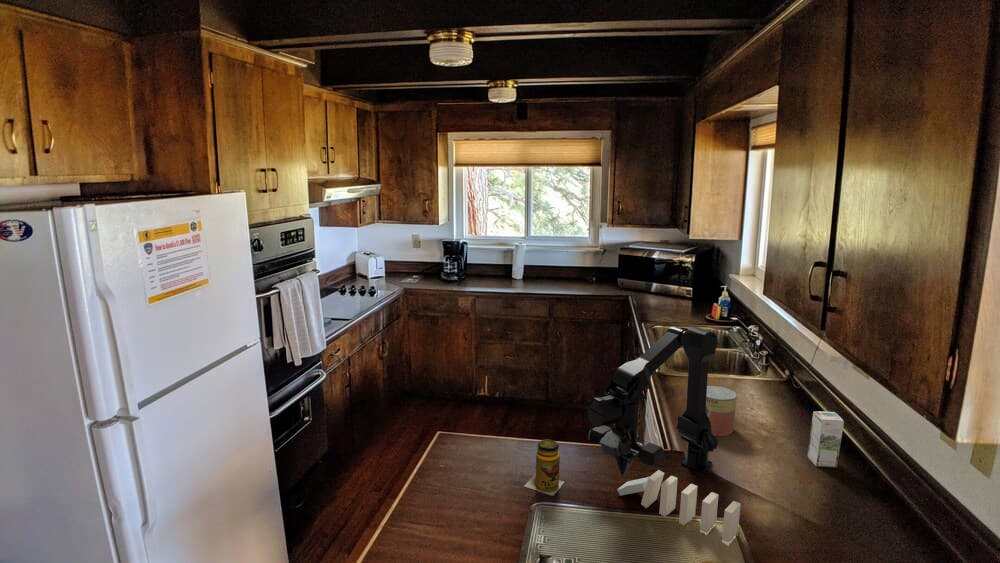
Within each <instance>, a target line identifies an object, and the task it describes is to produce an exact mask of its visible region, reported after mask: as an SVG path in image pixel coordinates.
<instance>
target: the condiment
mask: <svg viewBox="0 0 1000 563" xmlns="http://www.w3.org/2000/svg"><path fill="white" fill-rule="evenodd" d="M559 447H560V446H559V444H558V442H557V441H556V440H554V439H550V438H548V439H546V438H545V439H542V440H540V441H539V442H538V443H537V451H536V455H535V456H536V459H535V473H534V474H533V475H532V477H531V478H530V479H529V480H528V481H527V482H526V483H525V484H524V485H523V487H525V488H527V489H530V490H535V491H537V492H539V493H543V494H546V495H549V496H551V497H552V496H553V497H554V496H555V494H556V493H557V492H558V491H559V490H560V489H561V487H562V486H563V484H564V483H565V481H564V480H560V459H561V458H560V457H561V456H560V452H559Z"/></svg>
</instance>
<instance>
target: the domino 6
mask: <svg viewBox="0 0 1000 563" xmlns="http://www.w3.org/2000/svg"><path fill="white" fill-rule="evenodd" d="M741 505H742V504H741V503H740V502H738V501H735V500H733V501H731V503H730V504H729V505H728V506H727V507H726V508H725V509H724V512H723V513H724V514H723V522H722V532H721V533H722V535H721V541H722V540H724V541H726V542H730V541H731V540H732V539H733V537H734V536H735V535H736V534H737V532H738V533H739V526H740V525H739V523H740V515H741V507H742V506H741Z"/></svg>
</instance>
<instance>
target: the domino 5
mask: <svg viewBox="0 0 1000 563" xmlns="http://www.w3.org/2000/svg"><path fill="white" fill-rule="evenodd" d="M719 496H720V495H719V494H718V493H716V492H713V491H711V492H710V493H709V494H708V495H707V496H706V497H705V498H704V499H703V500H702V502H701V512H700V523H699V525H700V526H699V531H700V530H702V531H704V532H706V533H707V532H708V531H709V530H710V528H712V527H713V525H714V524H715V523H716V524H717V518H718V517H717V515H718V505H719V504H718V503H719Z"/></svg>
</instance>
